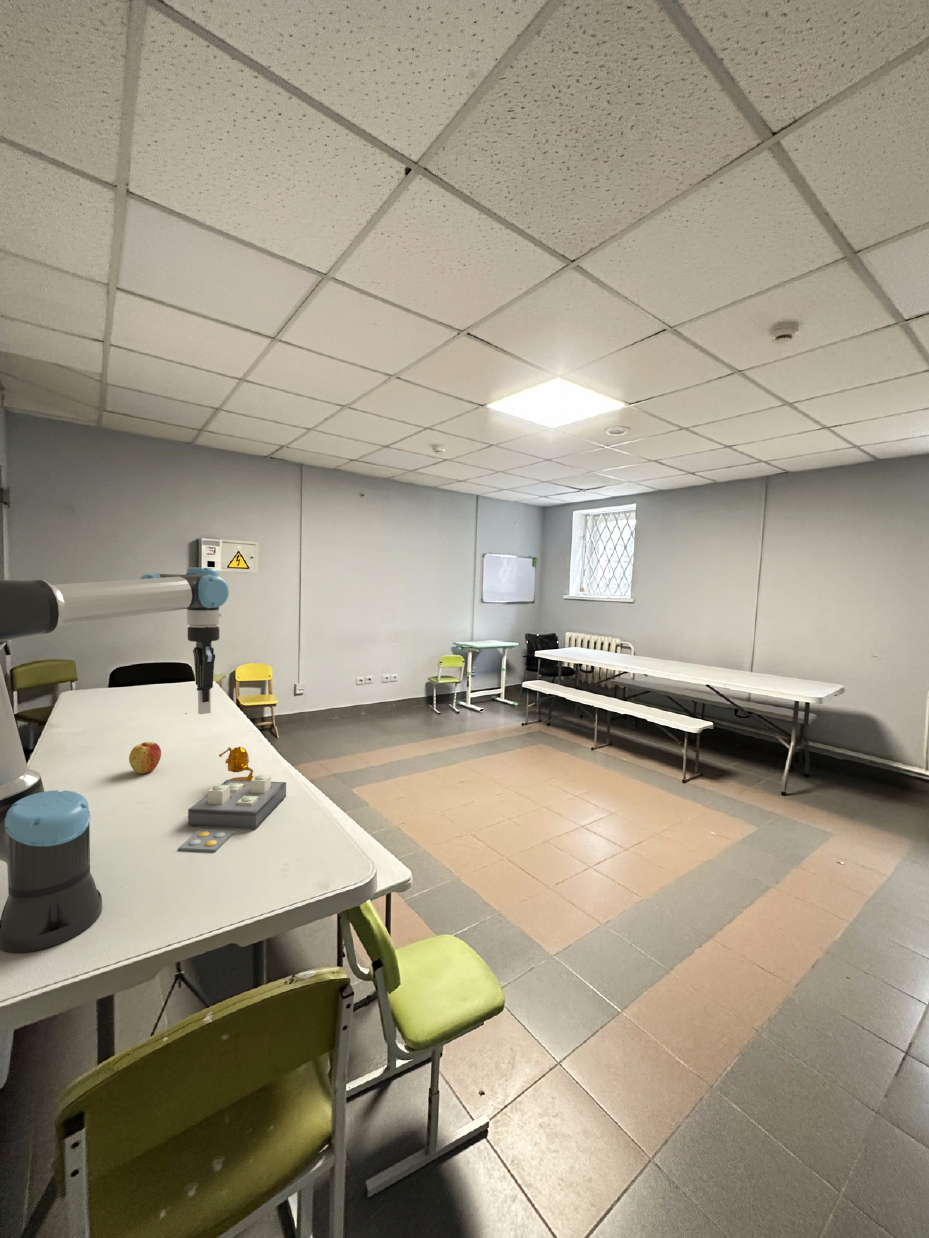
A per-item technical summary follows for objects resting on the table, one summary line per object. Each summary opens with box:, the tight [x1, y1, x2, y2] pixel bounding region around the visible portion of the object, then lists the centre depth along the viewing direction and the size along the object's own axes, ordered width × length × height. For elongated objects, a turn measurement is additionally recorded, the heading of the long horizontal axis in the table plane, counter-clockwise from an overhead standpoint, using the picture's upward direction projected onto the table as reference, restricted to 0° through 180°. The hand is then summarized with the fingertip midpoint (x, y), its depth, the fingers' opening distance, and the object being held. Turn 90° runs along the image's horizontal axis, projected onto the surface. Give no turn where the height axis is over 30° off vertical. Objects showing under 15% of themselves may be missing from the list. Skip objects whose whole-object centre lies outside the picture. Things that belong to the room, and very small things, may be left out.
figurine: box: [218, 746, 255, 781], centre depth 158 cm, size 8×11×12 cm
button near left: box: [207, 784, 230, 805], centre depth 136 cm, size 4×4×4 cm
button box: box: [187, 779, 287, 830], centre depth 140 cm, size 20×18×4 cm
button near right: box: [237, 796, 258, 806], centre depth 136 cm, size 4×4×4 cm
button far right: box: [251, 774, 272, 794], centre depth 143 cm, size 4×4×4 cm
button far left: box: [229, 783, 244, 792], centre depth 144 cm, size 4×4×4 cm
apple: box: [128, 741, 162, 775], centre depth 165 cm, size 9×9×10 cm
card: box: [177, 828, 235, 853], centre depth 123 cm, size 9×9×1 cm
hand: (204, 712), depth 134 cm, fingers closed
